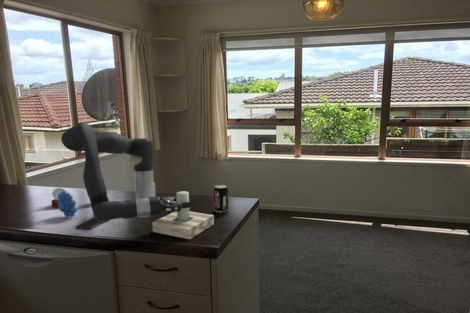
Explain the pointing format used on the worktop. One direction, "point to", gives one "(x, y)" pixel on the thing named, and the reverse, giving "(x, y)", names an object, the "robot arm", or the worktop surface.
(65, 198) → the grapes
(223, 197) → the beverage can
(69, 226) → the worktop surface
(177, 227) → the socket block
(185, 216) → the peg
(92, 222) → the phone
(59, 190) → the canned food
